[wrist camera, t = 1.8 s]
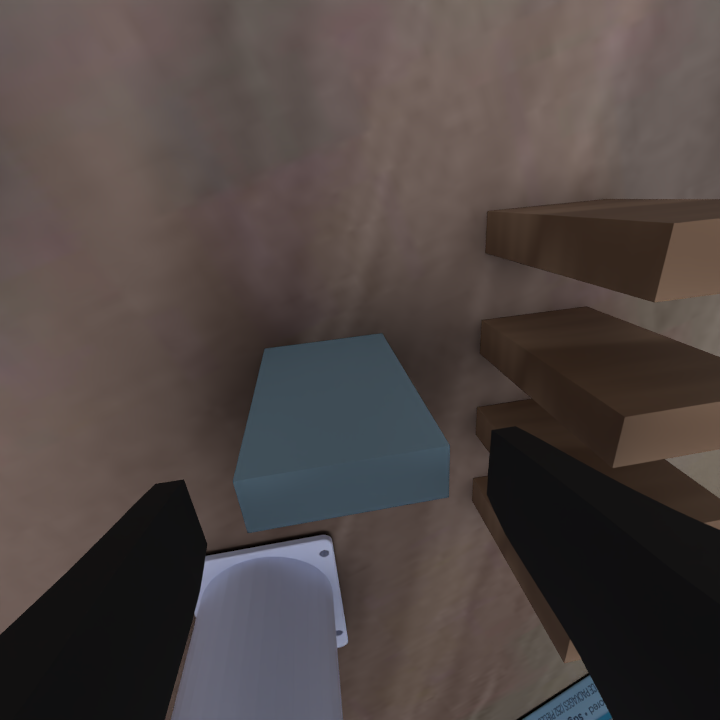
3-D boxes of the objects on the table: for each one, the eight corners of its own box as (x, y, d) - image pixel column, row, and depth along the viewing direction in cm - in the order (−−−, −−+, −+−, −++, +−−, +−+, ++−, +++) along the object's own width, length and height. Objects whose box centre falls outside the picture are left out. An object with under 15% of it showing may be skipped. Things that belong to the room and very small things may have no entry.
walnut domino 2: (597, 240, 16) (853, 275, 8) (485, 252, 15) (654, 302, 8) (604, 199, 15) (887, 199, 8) (487, 210, 15) (673, 223, 7)
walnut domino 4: (567, 419, 19) (726, 551, 12) (475, 434, 19) (584, 581, 12) (571, 392, 19) (742, 515, 11) (477, 407, 18) (593, 545, 11)
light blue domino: (384, 366, 17) (448, 497, 9) (271, 382, 16) (248, 532, 9) (382, 333, 16) (449, 445, 9) (264, 348, 15) (232, 481, 8)
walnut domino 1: (555, 485, 21) (687, 634, 14) (472, 500, 21) (564, 663, 13) (559, 463, 21) (700, 607, 13) (473, 478, 20) (570, 637, 13)
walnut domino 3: (580, 339, 18) (777, 438, 10) (479, 353, 17) (612, 468, 10) (586, 306, 17) (801, 388, 10) (481, 320, 16) (625, 416, 9)
